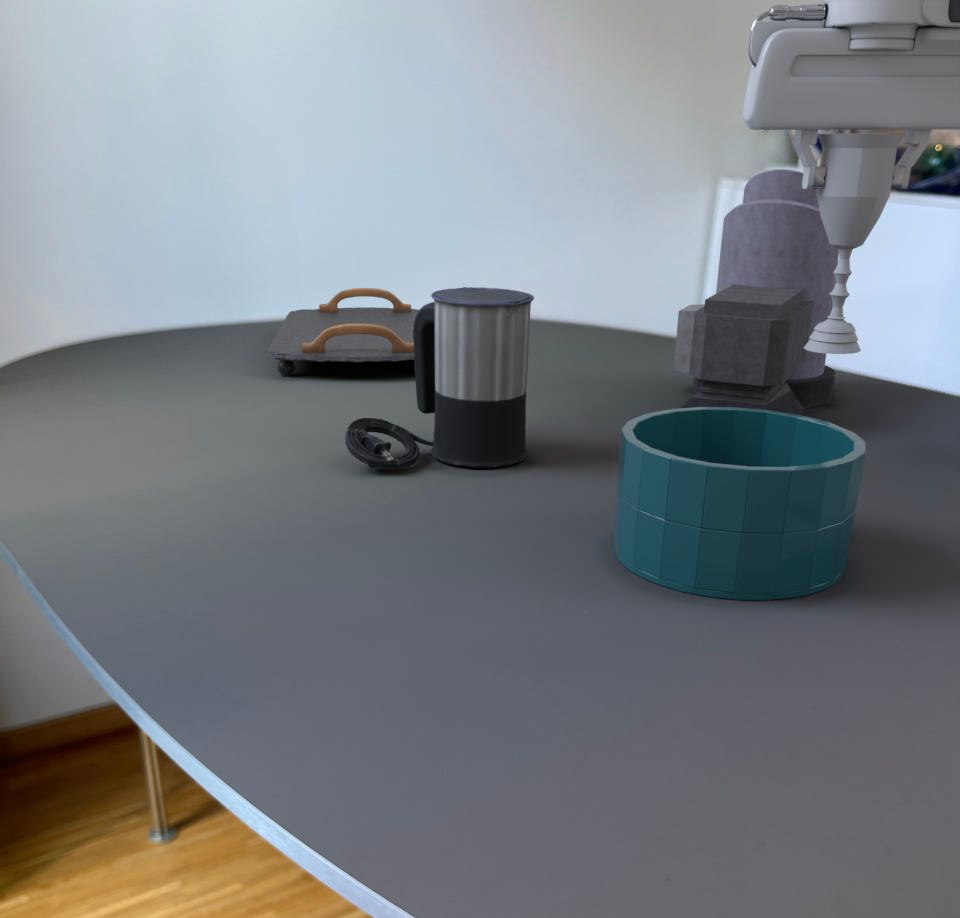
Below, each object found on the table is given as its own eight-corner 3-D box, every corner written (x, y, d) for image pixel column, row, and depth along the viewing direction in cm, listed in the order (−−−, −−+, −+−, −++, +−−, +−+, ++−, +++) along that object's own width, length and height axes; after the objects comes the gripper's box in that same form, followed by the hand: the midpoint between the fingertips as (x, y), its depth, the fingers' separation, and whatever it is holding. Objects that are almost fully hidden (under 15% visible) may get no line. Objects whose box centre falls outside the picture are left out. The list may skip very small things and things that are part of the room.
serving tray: (291, 326, 163) (288, 284, 161) (442, 326, 165) (442, 284, 162) (262, 382, 129) (258, 329, 126) (454, 381, 130) (454, 329, 128)
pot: (807, 518, 86) (824, 408, 82) (877, 601, 71) (902, 471, 67) (602, 516, 86) (610, 405, 82) (629, 599, 71) (640, 468, 67)
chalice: (776, 347, 99) (801, 133, 92) (819, 339, 103) (846, 133, 95) (846, 359, 94) (878, 134, 86) (888, 349, 98) (922, 133, 90)
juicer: (713, 371, 137) (735, 163, 127) (842, 384, 131) (877, 167, 121) (645, 424, 113) (666, 171, 102) (799, 443, 107) (838, 177, 96)
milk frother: (547, 453, 102) (553, 292, 96) (451, 494, 91) (451, 314, 84) (428, 430, 110) (427, 279, 103) (325, 466, 98) (316, 298, 91)
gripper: (761, 0, 84) (743, 191, 90) (1021, 0, 84) (985, 190, 90) (743, 8, 90) (727, 187, 96) (986, 8, 90) (955, 186, 96)
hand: (854, 188), depth 93 cm, fingers closed on chalice, 6 cm apart
